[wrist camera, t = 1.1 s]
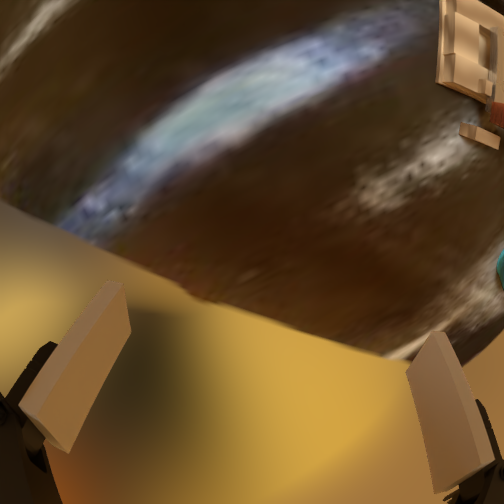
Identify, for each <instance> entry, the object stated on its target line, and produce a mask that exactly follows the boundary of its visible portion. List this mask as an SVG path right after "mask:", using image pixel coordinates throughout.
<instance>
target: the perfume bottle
mask: <svg viewBox="0 0 504 504" xmlns="http://www.w3.org/2000/svg"><path fill="white" fill-rule="evenodd" d="M497 272H498V274H499V275H500V280H501V283H502V287H503V290H504V250H503V251H502V253H501V254H500V256H499V259H498V262H497Z"/></svg>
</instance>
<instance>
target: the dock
mask: <svg viewBox="0 0 504 504" xmlns="http://www.w3.org/2000/svg"><path fill="white" fill-rule="evenodd" d="M439 5H440V16H439V46H438V60H437V71H436V81H435V83H438V84H441V85H443V86H446V87H448V88H451V89H453V90H455V91H458V92H460V93H462V94H465V95H467V96H469V97H471V98H474V99H476V100H478V101H480V102H482V103H484V104H486V99H487V96H490V97H491V95H492V85H493V83H492V82H490V81H488V80H489V65H490V28H491V27H497V26H498V27H500V28H501V29H503V30H504V16H502V15H501V14H499V13H498V12H496V11H494V10H493V9H491V8H490V7H488V6H486V5H485V4H483V3H481V2H479V1H478V0H439ZM459 135H462V136H465V137H467V138H470V139H472V140H475V141H477V142H480V143H482V144H485V145H487V146H490V147H493V148H495V149H498V147H499V142H500V137H499V136H497V135H495V134H493V133H491V132H488V131H486V130H484V129H482V128H480V127H477V126H474V125H470V124H466V123H462V122H461V125H460V130H459Z"/></svg>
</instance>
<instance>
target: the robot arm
mask: <svg viewBox="0 0 504 504" xmlns="http://www.w3.org/2000/svg"><path fill="white" fill-rule="evenodd" d="M130 333H131V328H130V323H129V317H128V311H127V304H126V297H125V291H124V284H122V283H118V282H114V281H109V280H107V282H106V283H105V284H104V285H103V287H102V288H101V289H100V291H99V292H98V293H97V294H96V295H95V297H94V298H93V299H92V300H91V302H90V303H89V304H88V306H87V307H86V308H85V310H84V311H83V312H82V313H81V315H80V316H79V317H78V318H77V320H76V321H75V322H74V324H73V325H72V326H71V328H70V329H69V330H68V332H67V333H66V335H65V336H64V337H63V339H62V340H61V342H60V343H59V344H56V343H54V342H51V341H50V342H48V343H47V344H45V345H44V346H42V347H41V348H40V349H39V350H38V351H37V353H36V354H35V355H34V357H33V358H32V361H30V362H29V364H28V365H27V368H26V369H24V371H23V372H22V374H21V375H20V377H19V378H18V380H17V381H16V383H15V384H14V386H13V387H12V389H11V390H10V392H9V393H8V395H7V396H6V397H5V398H4V397H3V396H2V394H1V392H0V504H63V503H62V501H61V498H60V495H59V493H58V489H57V487H56V484H55V481H54V477H53V474H52V471H51V468H50V464H49V461H48V457H47V454H46V450H45V447H44V445H43V442H44V440H45V438H46V439H47V440H48V441H49V442H50V444H51V445H53V446H55V447H57V448H59V449H61V450H63V451H65V452H67V453H69V452H70V450H71V448H72V446H73V444H74V441H75V439H76V437H77V435H78V433H79V431H80V429H81V427H82V425H83V422H84V420H85V418H86V416H87V414H88V412H89V410H90V408H91V406H92V404H93V402H94V400H95V398H96V396H97V394H98V392H99V391H100V389H101V386H102V385H103V383H104V381H105V379H106V377H107V375H108V373H109V371H110V370H111V368H112V366H113V364H114V362H115V360H116V358H117V357H118V355H119V353H120V351H121V349H122V348H123V346H124V344H125V342H126V340H127V339H128V337H129V335H130ZM406 375H407V378H408V381H409V385H410V388H411V392H412V395H413V398H414V402H415V406H416V410H417V414H418V417H419V422H420V426H421V430H422V434H423V438H424V443H425V447H426V452H427V457H428V462H429V467H430V472H431V478H432V484H433V489H434V494H437V493H441V492H444V491H448V490H450V489H452V488H453V487H455V486H457V485H459V489H458V490H456V491H454V492H453V493H451V494H449V495H447V496H446V497H445V498H444V499H443V501H446V500H448V499H450V498H452V499H451V500H449V502H447V503H448V504H504V460H503V459H502V456H501V454H500V450H499V447H498V444H497V441H496V438H495V435H494V432H493V429H491V427H492V426H491V423H490V421H489V420H488V419H489V418H488V415H487V412H486V410H485V408H484V406H483V405H482V404H481V402H480V401H479V400H478V399H476V400H475V399H474V396H473V394H472V391H471V389H470V386H469V384H468V381H467V379H466V377H465V374H464V372H463V370H462V367H461V365H460V363H459V361H458V359H457V356H456V354H455V352H454V350H453V348H452V346H451V344H450V342H449V340H448V337H447V335H446V333H445V332H439V331H432V332H431V333H430V335H429V337H428V338H427V340H426V342H425V343H424V345H423V346H422V348H421V350H420V351H419V353H418V354H417V356H416V357H415V359H414V360H413V362H412V363H411V365H410V366H409V368H408V369H407V371H406Z"/></svg>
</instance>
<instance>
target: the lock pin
mask: <svg viewBox="0 0 504 504" xmlns="http://www.w3.org/2000/svg"><path fill="white" fill-rule="evenodd" d="M488 81H490V82H492V83H493V85H492V95H491V97H490V96H487V99H486V107H485V111H486V112H488V113H491V115H490V122H491V123H493V124H495V125H497V126H499V127H501V128H503V129H504V30H503V29H501V28H500V27H498V26H497V27H491V28H490V65H489V80H488Z"/></svg>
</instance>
